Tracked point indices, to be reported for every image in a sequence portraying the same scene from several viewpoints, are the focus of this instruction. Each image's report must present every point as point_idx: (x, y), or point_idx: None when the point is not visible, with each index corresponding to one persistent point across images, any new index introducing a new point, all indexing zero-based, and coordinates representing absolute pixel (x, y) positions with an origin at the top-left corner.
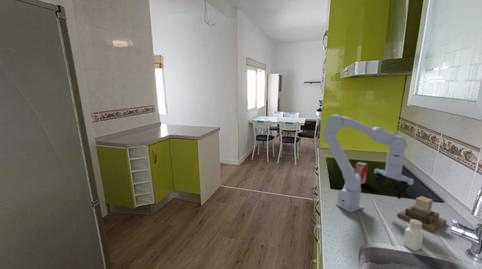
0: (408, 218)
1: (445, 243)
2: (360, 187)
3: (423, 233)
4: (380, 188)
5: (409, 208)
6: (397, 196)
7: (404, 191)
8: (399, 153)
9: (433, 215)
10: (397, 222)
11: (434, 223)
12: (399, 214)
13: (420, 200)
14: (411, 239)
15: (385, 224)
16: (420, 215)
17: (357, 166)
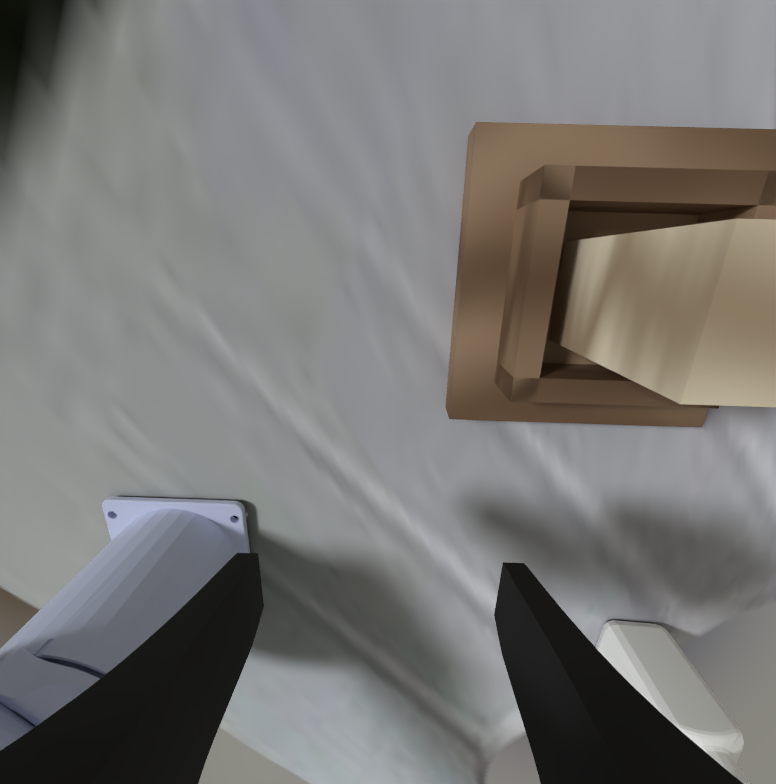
0: (535, 420)
1: (761, 473)
2: (79, 686)
3: (743, 740)
4: (245, 655)
5: (528, 354)
6: (501, 645)
7: (599, 667)
8: None
9: None
10: (484, 484)
11: None
12: (465, 419)
13: (732, 401)
14: None
15: (450, 566)
16: (641, 405)
17: None
